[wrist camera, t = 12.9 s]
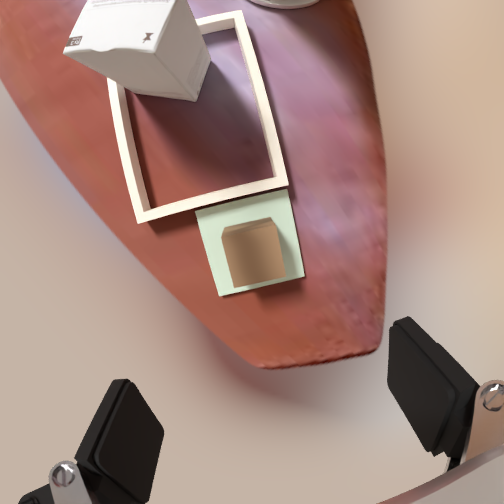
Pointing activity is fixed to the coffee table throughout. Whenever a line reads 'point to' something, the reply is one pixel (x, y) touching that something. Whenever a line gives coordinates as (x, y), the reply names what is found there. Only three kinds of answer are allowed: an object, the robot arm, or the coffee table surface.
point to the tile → (245, 211)
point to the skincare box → (142, 46)
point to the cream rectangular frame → (279, 180)
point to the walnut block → (253, 252)
